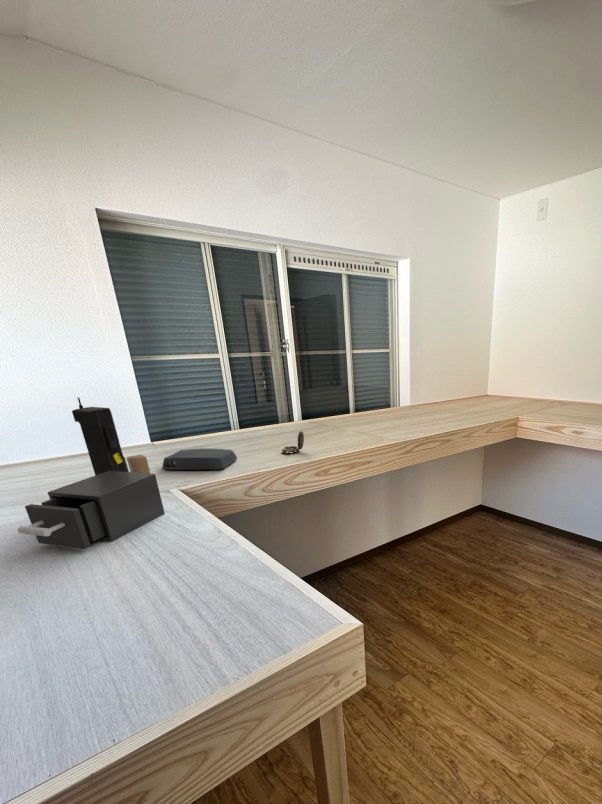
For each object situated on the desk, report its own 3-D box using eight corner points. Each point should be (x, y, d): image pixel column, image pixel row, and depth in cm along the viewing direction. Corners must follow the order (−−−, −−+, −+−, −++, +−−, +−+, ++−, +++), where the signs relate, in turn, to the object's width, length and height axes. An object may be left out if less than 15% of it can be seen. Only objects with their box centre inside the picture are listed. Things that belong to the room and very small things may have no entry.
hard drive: (182, 459, 139) (180, 447, 137) (238, 459, 138) (237, 447, 136) (161, 471, 127) (158, 458, 125) (222, 471, 126) (220, 458, 124)
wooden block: (133, 484, 116) (125, 456, 112) (148, 481, 118) (141, 453, 115) (137, 487, 113) (130, 459, 110) (153, 484, 116) (146, 456, 112)
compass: (284, 449, 149) (281, 429, 146) (306, 449, 149) (304, 429, 146) (278, 455, 142) (275, 434, 139) (301, 455, 141) (298, 434, 138)
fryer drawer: (64, 560, 74) (50, 520, 71) (16, 553, 77) (0, 514, 74) (140, 520, 90) (131, 486, 87) (98, 516, 93) (88, 483, 90)
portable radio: (141, 497, 106) (115, 396, 96) (118, 505, 101) (88, 400, 91) (121, 493, 109) (93, 395, 99) (98, 501, 104) (67, 398, 94)
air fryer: (112, 541, 83) (98, 496, 79) (62, 535, 86) (47, 492, 82) (164, 513, 96) (155, 473, 92) (120, 509, 99) (109, 470, 95)
